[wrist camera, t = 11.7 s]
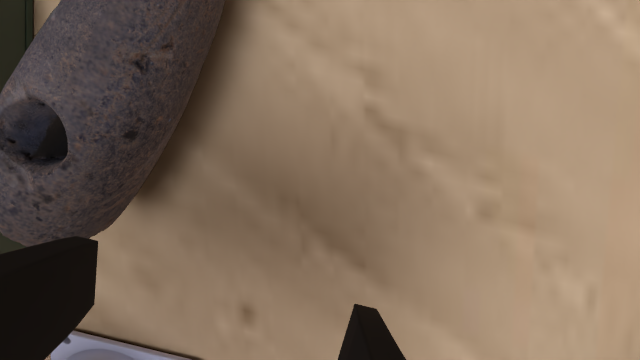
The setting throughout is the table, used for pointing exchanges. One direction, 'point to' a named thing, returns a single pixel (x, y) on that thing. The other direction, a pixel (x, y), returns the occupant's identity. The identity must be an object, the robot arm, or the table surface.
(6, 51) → the dish
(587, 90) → the table surface
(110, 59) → the perforated stone tool
